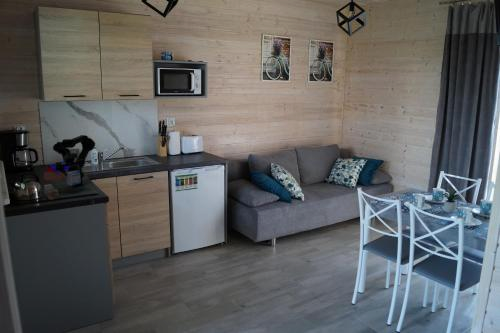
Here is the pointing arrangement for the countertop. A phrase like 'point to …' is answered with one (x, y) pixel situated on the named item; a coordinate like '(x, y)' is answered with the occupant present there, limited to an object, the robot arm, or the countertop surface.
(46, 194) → the dark grey cylinder
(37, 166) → the countertop surface
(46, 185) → the terracotta block
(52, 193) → the walnut block
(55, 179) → the house
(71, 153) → the candy bar box
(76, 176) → the medicine box
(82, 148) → the robot arm
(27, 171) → the countertop surface
